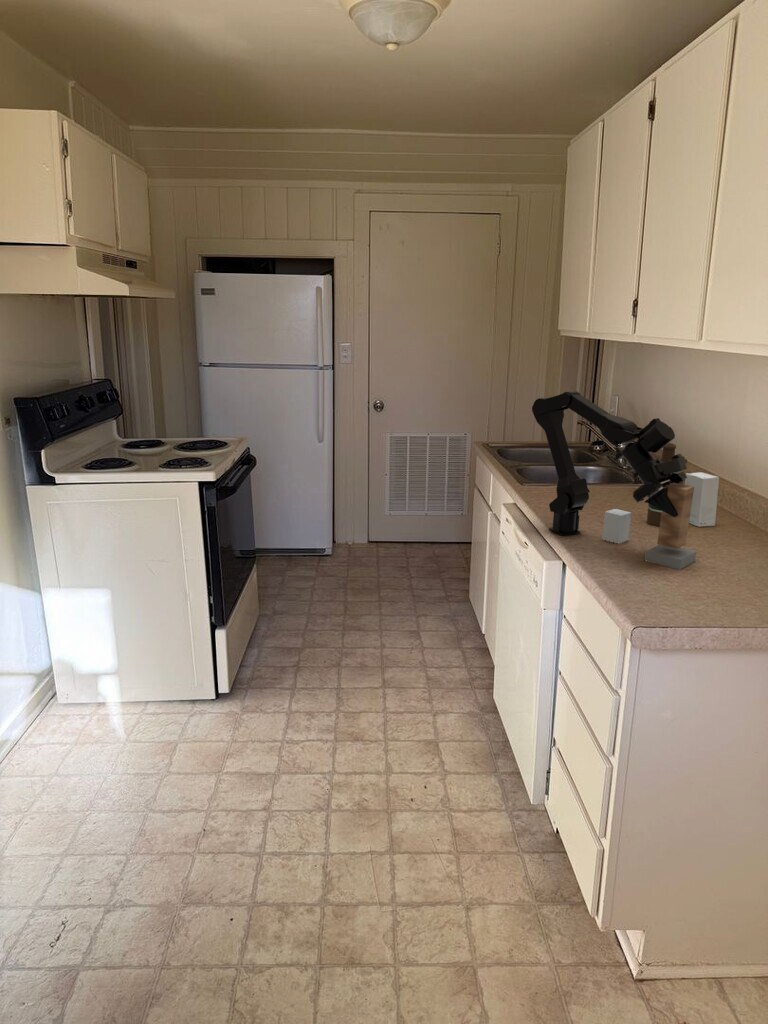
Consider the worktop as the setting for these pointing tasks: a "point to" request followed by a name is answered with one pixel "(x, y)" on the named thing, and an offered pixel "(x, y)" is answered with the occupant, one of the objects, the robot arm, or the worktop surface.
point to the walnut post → (676, 527)
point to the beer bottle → (667, 454)
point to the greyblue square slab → (670, 556)
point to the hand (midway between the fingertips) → (680, 514)
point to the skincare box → (703, 498)
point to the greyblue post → (616, 526)
